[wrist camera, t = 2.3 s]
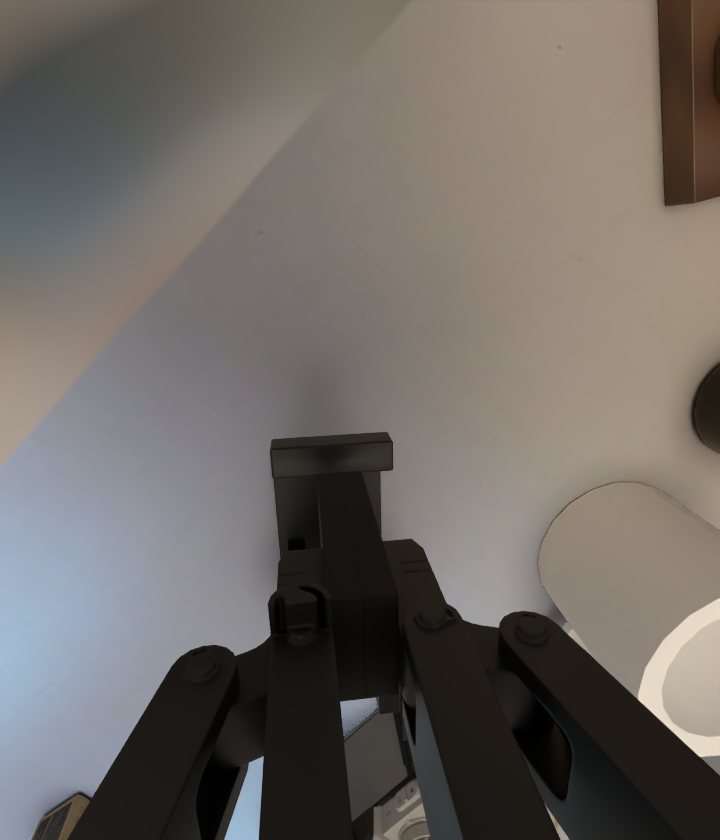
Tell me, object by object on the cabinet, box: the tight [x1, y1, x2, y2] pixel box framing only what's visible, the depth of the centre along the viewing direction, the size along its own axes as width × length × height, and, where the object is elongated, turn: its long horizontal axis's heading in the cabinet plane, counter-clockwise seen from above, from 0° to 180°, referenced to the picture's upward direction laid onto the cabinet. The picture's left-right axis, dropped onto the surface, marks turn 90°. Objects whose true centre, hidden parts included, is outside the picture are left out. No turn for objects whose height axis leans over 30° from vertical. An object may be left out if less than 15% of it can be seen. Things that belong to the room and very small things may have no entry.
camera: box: [344, 688, 431, 840], centre depth 33 cm, size 16×9×10 cm, turn 135°
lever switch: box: [274, 471, 400, 714], centre depth 28 cm, size 14×6×10 cm, turn 2°
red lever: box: [270, 432, 393, 479], centre depth 23 cm, size 12×5×2 cm, turn 2°
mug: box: [538, 482, 720, 757], centre depth 30 cm, size 14×10×11 cm
